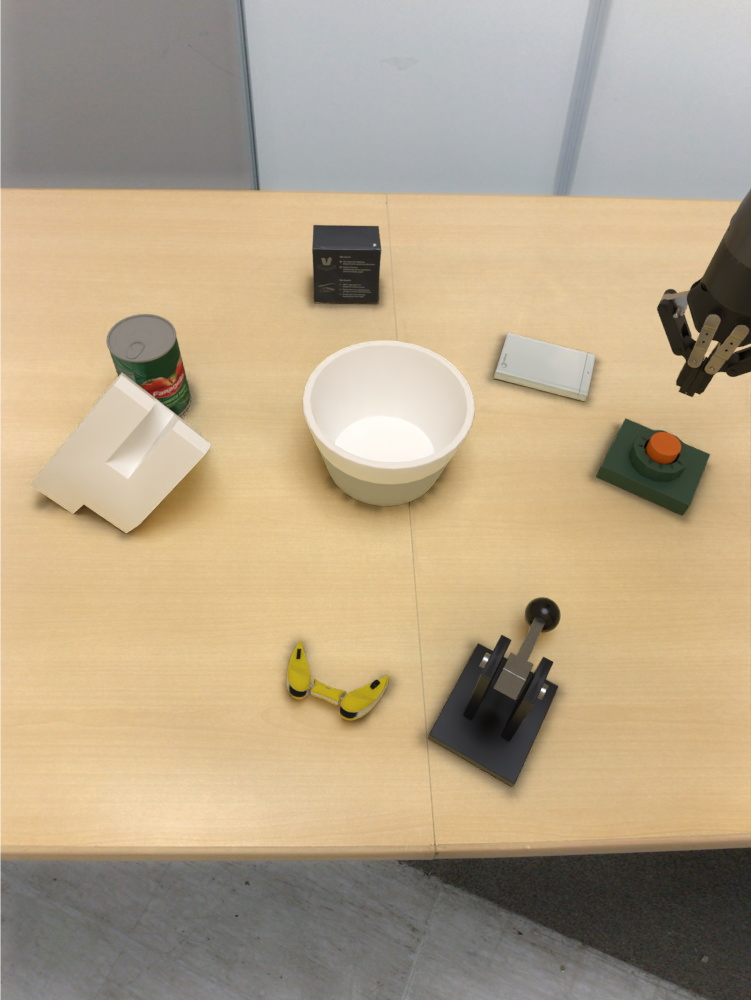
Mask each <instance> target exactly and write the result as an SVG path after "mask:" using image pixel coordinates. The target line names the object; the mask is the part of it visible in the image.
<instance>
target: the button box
mask: <svg viewBox="0 0 751 1000" xmlns="http://www.w3.org/2000/svg"><path fill="white" fill-rule="evenodd" d="M658 432H666V433H669V432H668V431H666V430H661V429H652V428H650V427H647V426H645V425H643V424H640V423H638V422H636V421H633V420H631V419H629V418H627V417H625V418H624V420H623V422H622V424H621V426H620V427H619V429H618V432H617V434H616V436H615V438H614V440H613V442H612V444H611V446H610V448H609V449H608V451H607V454H606V456H605V457H604V460H603V461H602V463H601V465H600V467H599V469H598V471H597V474H596V475H595V476H596V478H598V479H601V480H603V481H606V482H607V483H610V484H612V485H614V486H616V487H619V488H620V489H623V490H625V491H627V492H628V493H631V494H634V495H635V496H638V497H640V498H642V499H645V500H647V501H649V502H651V503H653V504H656V505H658V506H660V507H662V508H665V509H667V510H669V511H671V512H673V513H675V514H678V515H680V516H684V515H685V513H686V512H687V511H688V509H689V508H690V506H691V505H692V501H693V499H694V496H695V495H696V491H697V489H698V486H699V484H700V481H701V479H702V476H703V473H704V472H705V469H706V466H707V464H708V462H709V459H710V456H711V453H708V452H706V451H704V450H702V449H699V448H697V447H694V446H692V445H690V444H687V443H686V442H683V441H682V439H680V438H679V437H678V436H677V435H675V434H673V433H671V434H672V435H674V436H675V437H676V438H677V439H678V440H679V441H680V443H681V450H680V452H679V454H678V455H677V457H676V459H675V460H674V461H673V462H672V463H669V464H659V463H657V462H654V461H653V460H651V459H650V458H649V457H648V455H647V453H646V446H647V444H648V443H649V441H650V439H651V437H652V436H653V435H654V434H656V433H658Z"/></svg>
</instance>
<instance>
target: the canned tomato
mask: <svg viewBox="0 0 751 1000" xmlns="http://www.w3.org/2000/svg"><path fill="white" fill-rule="evenodd" d="M105 343H106V346H107V349H108V350H109V351H108V352H109V354H110V358H111V360H112V363H113V364H114V365H113V366H114V368H115V372H116V374H117V378H118V377H119V375H120V374H121V373H124V374H125V375H126V376H127V377H129V378H130V379H131V380H133V381H134V382H135V383H136V384H138V385H139V386H140V387H142V388H143V389H144V390H145V391H147V392H148V393H149V394H151V395H152V396H153V397H154V398H156V399H157V400H158V401H160V402H161V403H162V404H163V405H165V406H166V407H167V408H169V409H170V410H171V411H172V412H174V413H175V414H176V415H178V416H179V417H180V418H181V416H182V415H184V413H186V411H187V410H188V409H189V407H190V405H191V402H192V393H191V391H190V386H189V383H188V378H187V375H186V370H185V365H184V362H183V358H182V357H183V356H182V353H181V349H180V344H179V340H178V337H177V330H176V328H175V326H174V325H173V323H171V321H170V320H169V319H167V318H165V317H164V316H160V315H158V314H153V313H138V314H133V315H130V316H127V317H124V318H123V319H121V320H119V321H117V322H116V323H115V324H113V326H111V328H110V329H109V330H108V332H107V335H106V341H105Z"/></svg>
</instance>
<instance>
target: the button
mask: <svg viewBox="0 0 751 1000" xmlns="http://www.w3.org/2000/svg"><path fill="white" fill-rule="evenodd" d="M666 432H667V431H666ZM666 432H658V433H656V434H654V435H653V436H652V437H651V439H650V441H649V443H648V444H647V446H646V453H647V455H648V457H649V458H650V459H651V460H653V461H654V462H657V463H659V464H669V463H672V462H673V461H674V460H675V459H676V457H677V455H678V454H679V452H680V450H681V443H680V441H679V440H678V439H677V438H676V437H675V436H676V435H675V434H673V433H670V432H668V433H666ZM672 434H673V435H672ZM674 435H675V436H674Z"/></svg>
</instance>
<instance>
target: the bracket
mask: <svg viewBox="0 0 751 1000" xmlns="http://www.w3.org/2000/svg"><path fill="white" fill-rule="evenodd" d="M511 644H512V639H511V638H509V637H507V636H506V635H504V634H501V635H500V636H499V637H498V641H496V644H495V646H494V648H493V650H492V649H490V648H488V647H486V646H484V645H482V644H480V643H479V642H477V644H476V645H475V648H474V649H473V651H472V653H471V655H470V656H469V658H468V661H467V663H466V665H465V666H464V668H463V669H462V673H461V674H460V676H459V678H458V679H457V681H456V683H455V685H454V686H453V689H452V691H451V692H450V694H449V696H448V698H447V700H446V702H445V704H444V705H443V707H442V709H441V711H440V713H439V714H438V716H437V718H436V720H435V722H434V724H433V725H432V727H431V729H430V731H429V734H428V736H427V738H428V739H429V740H430V741H432V742H434V743H435V744H437V745H439V746H440V747H442V748H444V749H445V750H448V751H449V752H450V753H452V754H455V755H456V756H458V757H460V758H461V759H462V760H464V761H466V762H468V763H470V764H471V765H473V766H475V767H476V768H478V769H480V770H481V771H483V772H485V773H486V774H488V775H491V776H492V777H493V778H496V779H497V780H499V781H501V782H502V783H504V784H506V785H508V786H509V787H511V788H513V787H514V786H515V784H516V782H517V780H518V779H519V776H520V774H521V772H522V769H523V767H524V765H525V763H526V761H527V759H528V756H529V753H530V751H531V749H532V748H533V745H534V742H535V740H536V738H537V736H538V734H539V731H540V729H541V727H542V725H543V723H544V720H545V718H546V716H547V713H548V711H549V710H550V707H551V705H552V703H553V700H554V698H555V696H556V693H557V691H558V689H559V685H558V684H556V683H554V682H552V681H550V680H548V679H547V678H548V675H549V674H550V672H551V669H552V667H553V665H554V661H553V660H552V659H549V658H548V657H545V656H542V657H541V660H540V661H539V663H538V664H537V666H536V668H535V670H534V672H533V671H532V670H531V671H530V673H529V676H528V678H527V680H526V682H525V684H524V686H523V688H522V690H521V692H520V694H519V696H518V698H517V699H516V700H514V699H512V698H510V697H508V696H507V695H505V694H503V693H501V692H499V691H498V690H496V689H494V688H493V687H494V685H495V683H496V681H497V679H498V677H499V675H500V673H501V671H502V669H503V667H504V665H505V663H506V661H507V659H508V657H505V655H506V653H507V651H508V649H509V647H510V645H511Z"/></svg>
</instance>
